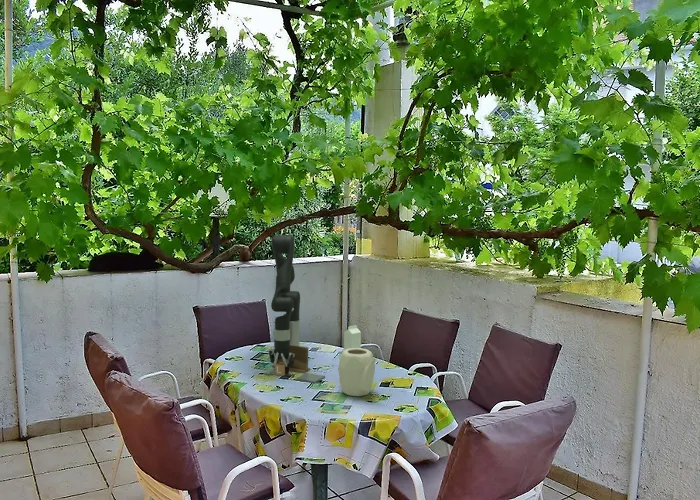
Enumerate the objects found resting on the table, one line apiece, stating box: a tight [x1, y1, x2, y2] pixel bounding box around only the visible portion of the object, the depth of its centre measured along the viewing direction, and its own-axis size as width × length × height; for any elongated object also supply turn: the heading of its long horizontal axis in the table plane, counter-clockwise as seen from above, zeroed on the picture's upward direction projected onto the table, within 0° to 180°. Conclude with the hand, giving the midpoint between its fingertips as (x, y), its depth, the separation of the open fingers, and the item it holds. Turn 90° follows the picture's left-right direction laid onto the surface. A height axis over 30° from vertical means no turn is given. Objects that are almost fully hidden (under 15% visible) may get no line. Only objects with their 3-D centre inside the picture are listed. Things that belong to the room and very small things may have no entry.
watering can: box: [337, 347, 377, 397], centre depth 259 cm, size 16×27×19 cm, turn 31°
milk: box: [343, 324, 362, 351], centre depth 295 cm, size 6×6×22 cm
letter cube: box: [274, 362, 287, 377], centre depth 285 cm, size 5×5×5 cm
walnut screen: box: [272, 345, 311, 374], centre depth 293 cm, size 6×18×12 cm, turn 65°
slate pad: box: [295, 372, 326, 384], centre depth 279 cm, size 10×10×1 cm
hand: (281, 372), depth 286 cm, fingers closed on letter cube, 5 cm apart
